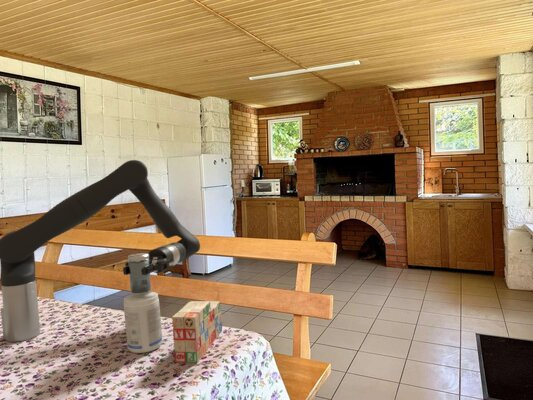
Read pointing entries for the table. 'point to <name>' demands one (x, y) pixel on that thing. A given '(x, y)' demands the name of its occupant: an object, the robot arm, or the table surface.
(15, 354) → the table surface
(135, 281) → the tea tin
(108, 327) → the table surface
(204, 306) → the stack of blocks
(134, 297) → the supplement tub
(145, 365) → the table surface
